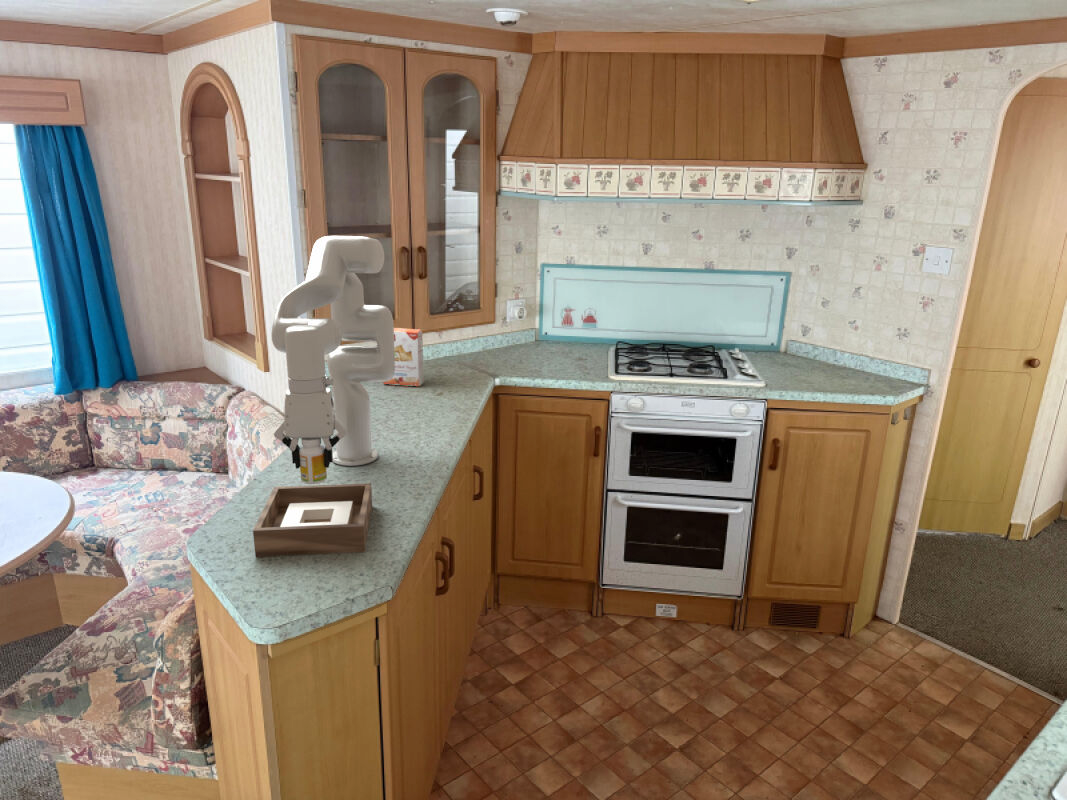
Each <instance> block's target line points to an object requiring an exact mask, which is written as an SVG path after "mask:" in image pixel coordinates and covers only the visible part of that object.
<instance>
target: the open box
mask: <svg viewBox="0 0 1067 800" xmlns="http://www.w3.org/2000/svg"><path fill="white" fill-rule="evenodd" d="M341 501H353V514H352V519H351V523H350V524H339V525H315V526H292V527H280V526H281V524H282V521H283V519H284V516H285V514H286V512H287V509H288V507H289V504H290V503H315V502H341ZM372 510H373V493H372V483H349V484H348V483H345V484H341V483H340V484H319V485H317V484H312V485H295V486H294V485H289V486H273V488H272V490H271V492H270V495H269V497H268V498H267V501H266V503H265V505H264V507H263V509H262V511H261V513H260V516H259V518H258V519H257V521H256V524H255V526H254V527H253V529H252V534H253V543H254V553H255V557H256V558H264V557H265V558H266V557H282V556H284V557H287V556H305V555H306V556H307V555H310V556H311V555H327V554H346V553H347V554H350V553H351V554H353V553H365V552H366V547H367V542H368V536H367V535H369V529H370V524H369V523H370V522H371V516H372ZM315 522H331V519H316V520H305V521H304V523H315ZM366 541H367V542H366Z"/></svg>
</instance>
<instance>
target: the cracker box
mask: <svg viewBox="0 0 1067 800" xmlns="http://www.w3.org/2000/svg"><path fill="white" fill-rule="evenodd" d="M423 343H424V342H423V329H417V328H416V329H415V328H404V327H402V328H401V327H394V351H395V371H394V376H393V378H392V379H391V380H389V381H385V382H382V384H383V383H384V384H400V385H413V386H419V385H420V384H421V383H422V382H423V383H424V349H423V347H424V346H423V345H424V344H423Z"/></svg>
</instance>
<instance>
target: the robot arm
mask: <svg viewBox="0 0 1067 800" xmlns="http://www.w3.org/2000/svg"><path fill="white" fill-rule="evenodd" d="M384 263H385V251H384V247H383V244H382V243H381V241H380V240H379V239H376V238H371V237H369V236H360V235H359V236H358V235H357V236H354V235H327V236H322V237H321V238H319V239H317V240H316V241H315V243H314V244H313V247H312V251H311V255H310V258H309V264H308V268H307V272H306V276H305V280H304V281H302V283H300V284H298V285H297V286H295V287H294V288H293V289H291V290H290V291H288V293H287V294H286V295H285V296H284V297H283V298H282V299H281V300H280V301H279V303H278V305H277V307H276V310H275V311H276V312H275V315H274V319H273V322H272V327H271V341H272V345H273V346H274V348H275V350H277V351H279V352H281V353H285V357H286V371H287V384H288V389H286V391H285V395H284V396H285V397H284V408H283V409H284V412H283V413H284V415H283V417H284V419H283V422H282V423H281V424H280V425H279V427H278V428H277V429H276V430H275V431H274V433H273V436H274V438H276V439H278V440H279V441H280V442H282V443H283V444H284V445H285V447H287V448H288V449H289V451H291V459H292V460H291V461H292V464H294V465H295V469H300V459H299V449H300V448H301V447H300V446H299V444H298V443H299V441H300V439H302V438H321V441H322V442H323V444H324V446H325V447H324V448H325V449H324V460H325V467H326V469H328V468H329V467H330V464H331V463H334V464H336V465H339V466H346V467H347V466H348V467H350V466H351V467H353V466H354V467H355V466H363V465H366V464H370V463H373V462H374V461H375V460H376V459H378V457H379V456H378V455H379V454H378V453H379V451H377V450H376V449H375V448H373V446H372V445H373V444H372V442H373V441H372V424H371V423H372V421H371V403H370V401H371V400H370V395H369V392H368V390H367V389H366V388H365V386H364V384H362V383H363V382H364V383H366V382H367V383H378V382H379V383H383V382H385V381H389V380H391V379H392V378H393V376H394V371H395V351H394V328H395V327H394V326H395V325H394V318H393V315H392V312H391V310H390V309H389V308H388V306H385V305H380V304H379V305H378V304H365V300H364V298H365V297H364V285H363V282H362V281H361V280H360V278H359V277H358V276H357V274H378V273H379V272H381V270H382V269H383V266H384ZM328 305H330V318H324V317H323V318H322V317H321V318H320V317H319V318H317V317H316V318H314V317H300V316H302V315H304V314H305V313H308V312H311V311H314V310H317V309H320V308H323V307H325V306H328ZM342 341H343V342H345V341H346V342H373V343H375V345H341V343H342ZM340 345H341V346H340ZM325 355H327V359H326V358H325ZM325 359H326V360H327V361H326V360H325ZM325 361H326V362H327V363H326V362H325ZM326 364H327V369H328V375H329V377H328V376H327V374H326ZM330 386H331V388H329V387H330ZM331 389H332V390H331ZM332 436H333V437H332ZM335 446H336V449H335V450H334V451H333V448H334V447H335Z"/></svg>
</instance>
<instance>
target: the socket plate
mask: <svg viewBox="0 0 1067 800" xmlns="http://www.w3.org/2000/svg"><path fill="white" fill-rule="evenodd" d="M352 514H353V501H341V502H315V503H290V504H289V507H288V509H287V512H286V514H285V516H284V519H283V521H282V524H281V526H280V527H292V526H315V525H339V524H350V523H351V519H352ZM316 519H331V522H315V523H304V521H305V520H316Z"/></svg>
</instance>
